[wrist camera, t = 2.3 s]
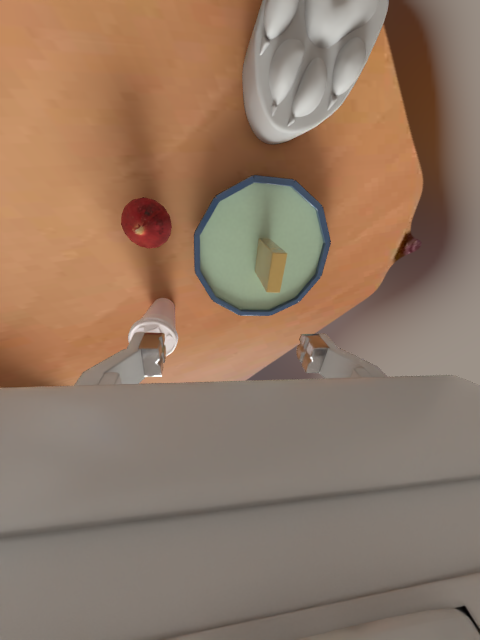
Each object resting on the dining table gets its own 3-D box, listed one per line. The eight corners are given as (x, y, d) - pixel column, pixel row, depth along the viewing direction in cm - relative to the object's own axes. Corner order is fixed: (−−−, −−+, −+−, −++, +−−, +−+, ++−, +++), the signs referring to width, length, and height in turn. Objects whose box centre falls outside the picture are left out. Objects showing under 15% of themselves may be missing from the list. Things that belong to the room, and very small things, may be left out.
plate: (193, 168, 27) (189, 163, 20) (341, 185, 31) (384, 185, 23) (195, 311, 38) (193, 341, 30) (307, 312, 41) (329, 340, 34)
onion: (142, 186, 29) (124, 186, 22) (182, 215, 32) (175, 223, 25) (123, 224, 31) (101, 236, 24) (162, 249, 34) (151, 265, 27)
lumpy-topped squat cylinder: (357, 34, 25) (422, -29, 17) (294, 163, 30) (323, 156, 23) (279, -46, 21) (318, -167, 14) (224, 115, 27) (231, 90, 19)
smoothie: (188, 298, 38) (180, 350, 26) (176, 327, 41) (164, 386, 29) (149, 284, 36) (123, 334, 24) (139, 316, 39) (111, 375, 27)
